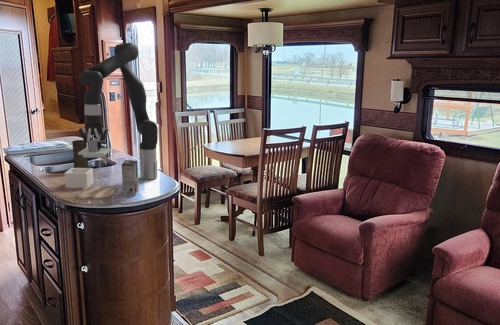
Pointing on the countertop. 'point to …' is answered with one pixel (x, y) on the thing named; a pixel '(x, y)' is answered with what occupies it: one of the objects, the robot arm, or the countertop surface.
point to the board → (96, 193)
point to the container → (79, 159)
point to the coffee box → (130, 178)
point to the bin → (79, 177)
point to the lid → (94, 150)
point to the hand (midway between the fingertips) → (94, 149)
